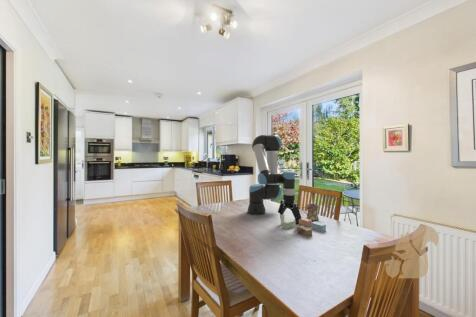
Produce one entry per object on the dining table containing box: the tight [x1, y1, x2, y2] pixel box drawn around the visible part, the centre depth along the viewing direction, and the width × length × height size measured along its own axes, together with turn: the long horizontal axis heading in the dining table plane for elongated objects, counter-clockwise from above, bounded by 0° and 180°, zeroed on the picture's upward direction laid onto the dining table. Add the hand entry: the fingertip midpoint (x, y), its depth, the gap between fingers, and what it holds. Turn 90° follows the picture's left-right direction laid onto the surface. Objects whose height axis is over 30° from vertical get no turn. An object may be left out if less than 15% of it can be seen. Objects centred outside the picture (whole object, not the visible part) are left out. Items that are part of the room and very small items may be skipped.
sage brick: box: [282, 219, 294, 230], centre depth 146 cm, size 8×4×4 cm, turn 122°
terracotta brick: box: [298, 216, 313, 228], centre depth 150 cm, size 8×4×4 cm, turn 31°
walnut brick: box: [296, 225, 313, 238], centre depth 132 cm, size 8×4×4 cm, turn 31°
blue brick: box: [310, 221, 327, 233], centre depth 140 cm, size 8×4×4 cm, turn 37°
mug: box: [302, 203, 320, 221], centre depth 161 cm, size 12×9×11 cm
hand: (289, 226), depth 146 cm, fingers open, 12 cm apart
